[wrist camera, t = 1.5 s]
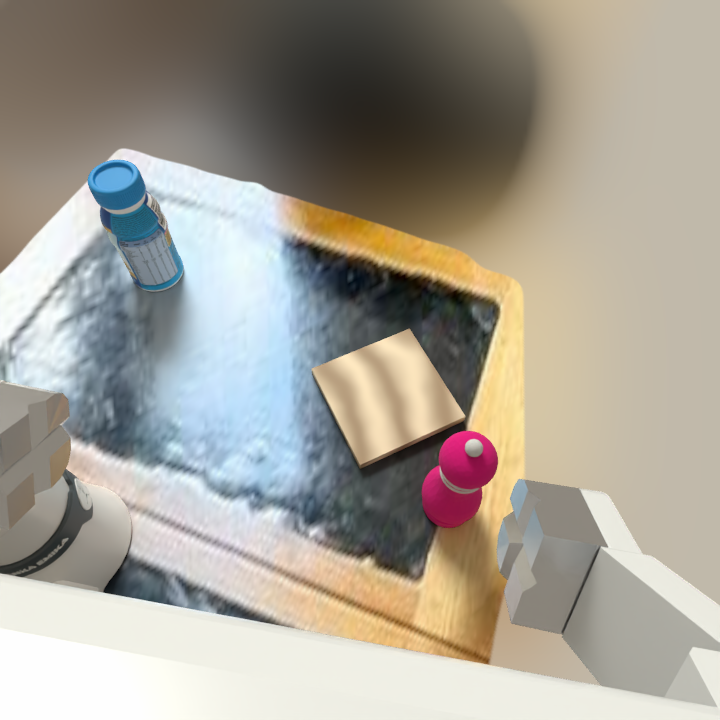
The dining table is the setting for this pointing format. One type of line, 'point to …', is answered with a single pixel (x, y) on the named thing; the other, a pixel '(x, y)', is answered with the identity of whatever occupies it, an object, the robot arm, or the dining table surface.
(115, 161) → the beverage bottle
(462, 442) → the pepper mill
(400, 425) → the oak board
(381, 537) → the dining table surface
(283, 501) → the dining table surface
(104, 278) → the dining table surface
